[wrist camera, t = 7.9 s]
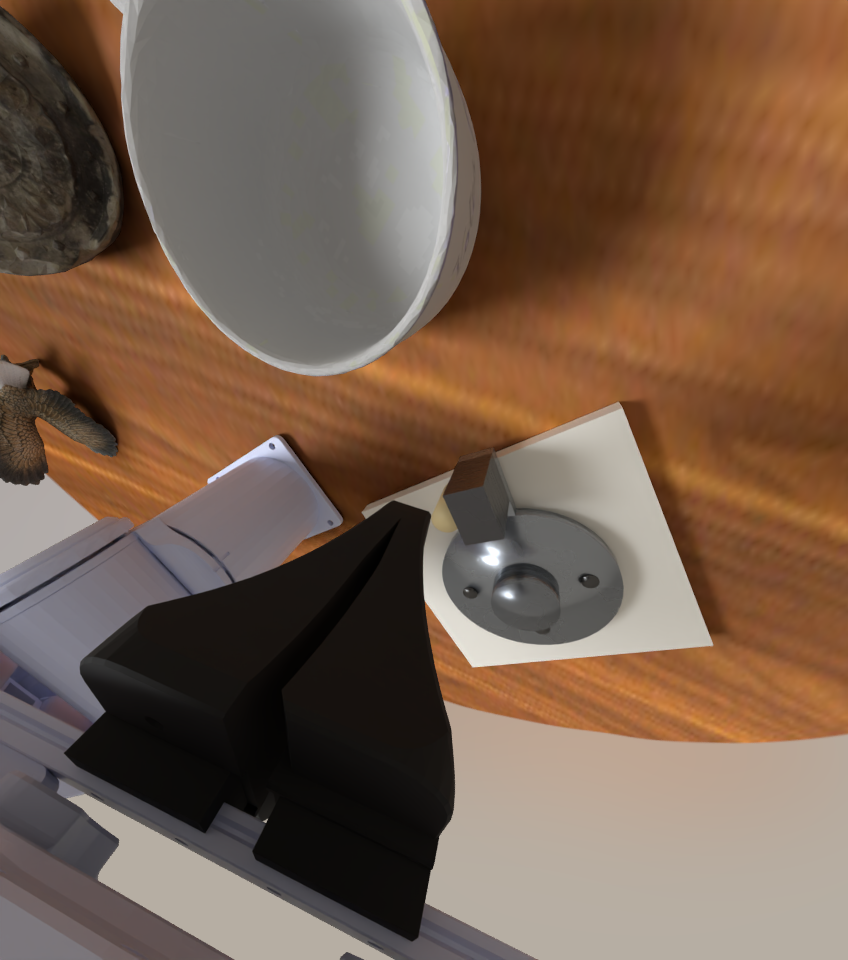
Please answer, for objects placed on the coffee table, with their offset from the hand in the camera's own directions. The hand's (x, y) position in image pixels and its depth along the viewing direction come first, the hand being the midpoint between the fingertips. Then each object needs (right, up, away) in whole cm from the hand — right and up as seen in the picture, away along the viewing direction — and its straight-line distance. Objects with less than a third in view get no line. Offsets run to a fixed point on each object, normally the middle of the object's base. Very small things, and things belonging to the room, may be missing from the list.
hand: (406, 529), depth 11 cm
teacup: (-2, +15, +5) cm, 16 cm away
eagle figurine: (-29, +8, +18) cm, 35 cm away
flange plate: (+6, -3, +11) cm, 13 cm away
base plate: (+8, -4, +12) cm, 15 cm away
